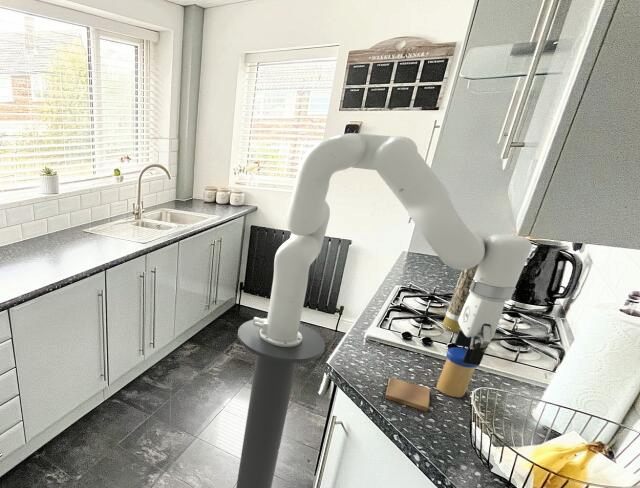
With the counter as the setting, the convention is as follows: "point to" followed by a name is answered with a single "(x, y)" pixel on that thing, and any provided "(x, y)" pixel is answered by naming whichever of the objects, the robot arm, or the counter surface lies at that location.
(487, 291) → the robot arm
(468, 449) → the counter surface
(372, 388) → the counter surface
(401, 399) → the block
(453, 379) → the jar
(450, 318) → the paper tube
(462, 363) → the jar lid
